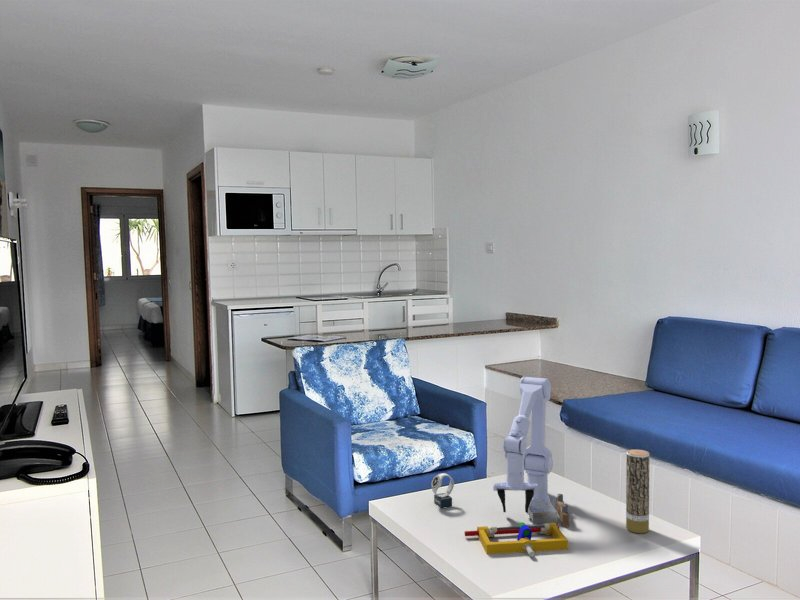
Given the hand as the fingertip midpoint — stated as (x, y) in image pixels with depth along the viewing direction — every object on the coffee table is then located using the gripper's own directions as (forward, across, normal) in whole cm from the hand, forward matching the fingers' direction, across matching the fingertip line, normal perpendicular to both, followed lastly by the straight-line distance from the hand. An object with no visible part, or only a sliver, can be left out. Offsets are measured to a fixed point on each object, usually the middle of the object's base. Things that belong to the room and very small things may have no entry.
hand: (515, 511), depth 226 cm
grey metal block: (+2, +8, +1) cm, 9 cm away
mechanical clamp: (+3, -1, -22) cm, 22 cm away
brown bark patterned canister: (+2, +38, -9) cm, 39 cm away
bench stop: (+2, +16, 0) cm, 16 cm away
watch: (+2, -24, +10) cm, 27 cm away
